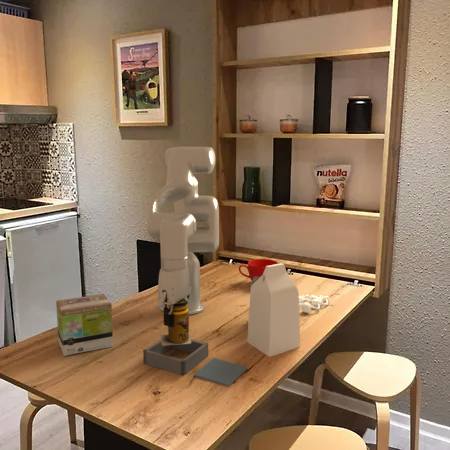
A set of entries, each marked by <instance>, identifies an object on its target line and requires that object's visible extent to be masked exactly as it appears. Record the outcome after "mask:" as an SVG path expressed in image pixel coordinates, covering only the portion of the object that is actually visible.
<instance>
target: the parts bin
mask: <svg viewBox="0 0 450 450" xmlns="http://www.w3.org/2000/svg"><path fill="white" fill-rule="evenodd" d="M190 339H191V338H190ZM191 342H192V343H190V344H180V345H165V346H162V343H161V339H159V340H158V341H156V342H155V343H153V344H151V345H150V346H148V347H147V348H145V349H144V350H143V352H142V354H143V364H144V365H147V366H151V367H154V368H157V369H161V370H164V371H168V372H171V373H174V374H177V375H181V376H185V375H187V374H188V373H189V372H190V371H191V370H193V369H194V368H195V367H196V366H198V365H199V364H201V362H203V361H204V360H205V359H207V358H208V357H209V343H208V342H207V343H206V342H203V341H200V340H196V339H191ZM169 349H174V350H178V351H182V352H185V353H189V355H187V356H186V357H185V358H183V359H182V358H181V359H180V358H177V357H174V356H170V355H167V354H164V353H165V352H167V351H168V350H169Z"/></svg>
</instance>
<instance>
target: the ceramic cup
mask: <svg viewBox="0 0 450 450" xmlns="http://www.w3.org/2000/svg"><path fill="white" fill-rule="evenodd" d="M274 264H279V262H278V261H276V260H274V259H268V258H256V259H251V260H249V261H248V262H247V265H246V264H241V265H239V266H238V271H239V273H240V274H241V276H243V277H245V278H247V279H250V281H251V282H252V279H253V277H254V276H258V277H260V276H263V273H264V270H265V268H266V266H269V265H274ZM242 267H245V268H246V269H247V272H248V274H245V273H243V272H242V269H241V268H242Z"/></svg>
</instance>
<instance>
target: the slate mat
mask: <svg viewBox="0 0 450 450" xmlns="http://www.w3.org/2000/svg"><path fill="white" fill-rule="evenodd" d="M247 369H248V366H245V365H242V364H239V363H235V362H231V361H227V360H223V359H220V358H215V357H213V358H212V359H210V360H209V361H208V362H207V363H206V364H204V366H202V367H201V368H200V369H198V371H196V372H195V373H193V377H196V378H199V379H202V380H206V381H210V382H213V383H216V384H219V385H223V386H225V387H230V386H231V385H232V384H233V383H234V382H235V381H236V380H237V379H238V378H239V377H240V376H241V375H242V374H243V373H244V372H246V370H247Z"/></svg>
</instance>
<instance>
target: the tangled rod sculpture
mask: <svg viewBox="0 0 450 450" xmlns="http://www.w3.org/2000/svg"><path fill="white" fill-rule="evenodd" d="M329 301H331V298H330V297H329V296H328V295H326V296H325V295H324V296H323V295H321V294H320V295H314V294H307V293H306V294H305V295H304V294H303V295H299V307H300V309H301V311H302V312H303V313H307V314H308V313H309V312H311V310H312V309H314V310H320V309H321V306H327V305H329ZM310 302H311V304H310ZM323 302H325V303H323Z"/></svg>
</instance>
